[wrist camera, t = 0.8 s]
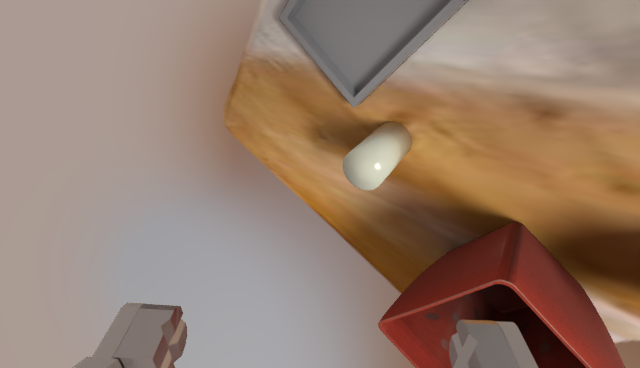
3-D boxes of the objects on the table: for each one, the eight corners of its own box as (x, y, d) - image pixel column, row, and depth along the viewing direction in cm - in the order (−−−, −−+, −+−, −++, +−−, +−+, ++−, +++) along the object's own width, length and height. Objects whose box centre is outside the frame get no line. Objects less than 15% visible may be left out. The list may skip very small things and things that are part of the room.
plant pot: (633, 303, 43) (654, 437, 31) (498, 333, 56) (476, 435, 44) (526, 188, 43) (506, 277, 31) (417, 245, 57) (373, 323, 45)
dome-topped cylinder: (394, 114, 48) (362, 141, 41) (419, 144, 48) (392, 177, 41) (368, 135, 52) (334, 164, 45) (392, 164, 52) (362, 197, 45)
